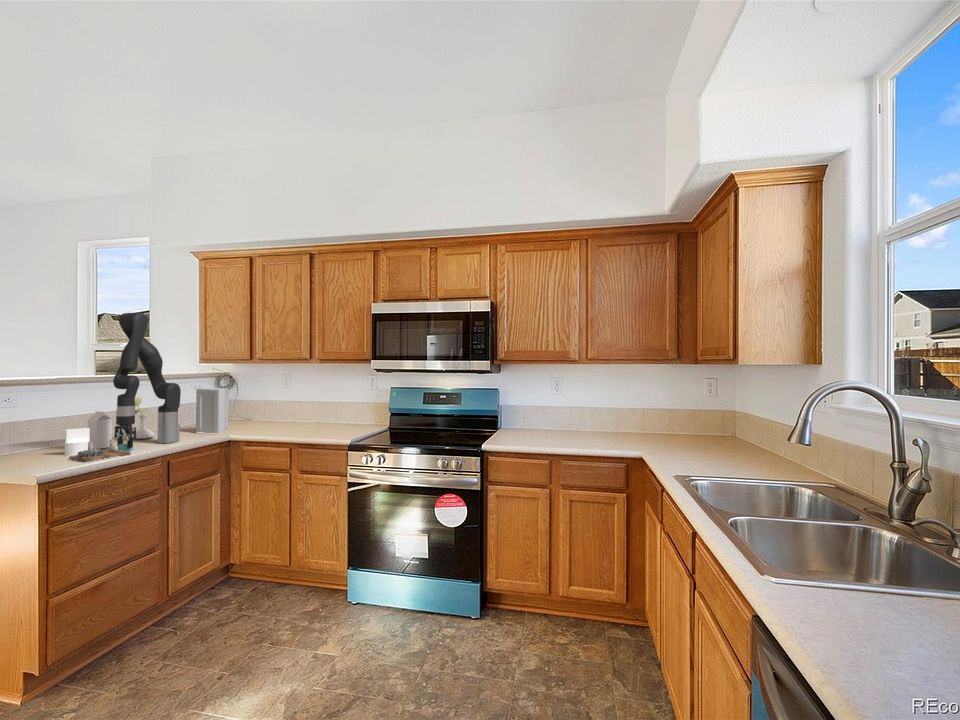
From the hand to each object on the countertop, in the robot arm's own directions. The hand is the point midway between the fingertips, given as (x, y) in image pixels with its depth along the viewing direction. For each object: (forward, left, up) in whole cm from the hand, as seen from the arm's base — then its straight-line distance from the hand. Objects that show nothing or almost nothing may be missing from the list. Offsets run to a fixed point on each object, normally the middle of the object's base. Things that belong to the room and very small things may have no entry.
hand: (124, 447), depth 226 cm
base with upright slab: (+14, -13, -2) cm, 19 cm away
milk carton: (+2, -19, -2) cm, 19 cm away
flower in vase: (-25, -32, -2) cm, 41 cm away
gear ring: (0, 0, -2) cm, 2 cm away
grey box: (-61, -17, -2) cm, 64 cm away
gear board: (+14, +7, -2) cm, 16 cm away
